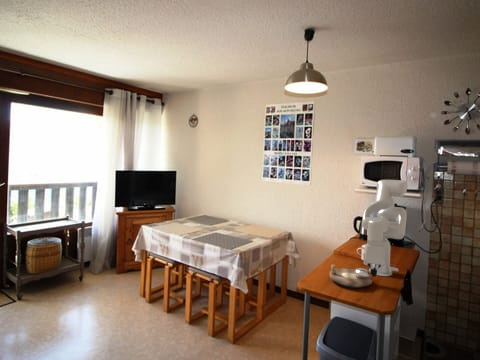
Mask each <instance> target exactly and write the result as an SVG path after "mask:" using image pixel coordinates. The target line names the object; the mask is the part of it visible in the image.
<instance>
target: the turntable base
mask: <svg viewBox="0 0 480 360" xmlns="http://www.w3.org/2000/svg"><path fill="white" fill-rule="evenodd" d="M335 283H337V282H335ZM337 284H338V285H340V286H343V287H345V288H350V289H361V288H364V287H365V286H362V287H355V286H348V285H343V284H340V283H337Z"/></svg>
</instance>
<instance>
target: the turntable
mask: <svg viewBox="0 0 480 360" xmlns="http://www.w3.org/2000/svg"><path fill="white" fill-rule="evenodd" d="M330 265H331V266H330V267H331V268H330V269H331V270H329V278H330V280H332V281H333V282H335V283H336V282H337V284H338V283H340V284H343V285H348V286H355V287H362V286H364V287H367V286H370V285H371V284H372V283H373V277H372V275H371V274H369V278H368V279H359V278H357V277H355V269H351V268H337V265H336V264H330ZM340 284H339V285H340ZM362 288H363V287H362Z"/></svg>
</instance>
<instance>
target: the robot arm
mask: <svg viewBox="0 0 480 360" xmlns="http://www.w3.org/2000/svg"><path fill="white" fill-rule="evenodd" d="M407 190H408V183H407V182H406V180H402V179H401V180H399V179H380V180H378V181H377V182H376V193H375V198H374V202H371V204H369V205H368V206H366V208H365V209H364V211H363V214H362V215H363V216H362V219H361V226H362V228H363V229H364V230H365V231H366V230H367V239H366V240H367V243H365V244H364V245H365V249H364V260H363V265H365V266H368V267H369V269H368V271H369V275H370V276H371V277H372V278H373V277H374V278H377V277H376V276H379V277H380V276H381V277H390V276H393V272H397V273H398V272H399V268H398V267H395V266H391V243H390V241H389V240H388V239H395V240H402V239H403V238H404V237H405V234H406V228H407V227H406V225H407V218H408V217H407V216H408V215H407V210H406V209H405V208H404V207H398V206H395V200H394V199H393V197H403V196H405V194H406V193H407ZM376 212H377V216H376V217H374V216H371V215H372V214H373V213H376Z"/></svg>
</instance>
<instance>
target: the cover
mask: <svg viewBox="0 0 480 360" xmlns="http://www.w3.org/2000/svg"><path fill="white" fill-rule="evenodd" d="M354 270H355V277H357V278H359V279H368V278H369V275H370V271H369V269H366V268H363V267H362V268H361V267H359V268H355V269H354Z"/></svg>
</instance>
